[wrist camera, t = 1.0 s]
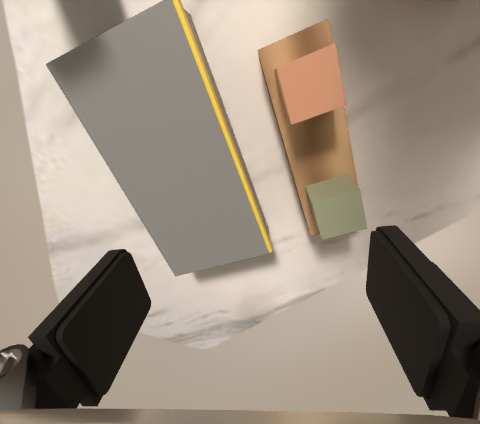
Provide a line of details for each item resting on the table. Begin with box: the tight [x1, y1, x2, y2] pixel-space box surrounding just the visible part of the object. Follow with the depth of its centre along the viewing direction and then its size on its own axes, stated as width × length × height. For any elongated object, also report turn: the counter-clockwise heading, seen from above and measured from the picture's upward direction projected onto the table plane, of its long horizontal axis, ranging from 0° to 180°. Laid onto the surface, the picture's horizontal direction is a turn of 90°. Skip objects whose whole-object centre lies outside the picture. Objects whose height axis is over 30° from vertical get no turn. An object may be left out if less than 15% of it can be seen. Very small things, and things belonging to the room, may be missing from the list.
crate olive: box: [305, 174, 367, 240], centre depth 27 cm, size 4×4×4 cm
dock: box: [46, 0, 272, 276], centre depth 29 cm, size 13×26×6 cm, turn 20°
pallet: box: [258, 19, 358, 235], centre depth 28 cm, size 6×21×4 cm, turn 20°
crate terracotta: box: [274, 43, 346, 125], centre depth 22 cm, size 4×4×4 cm
